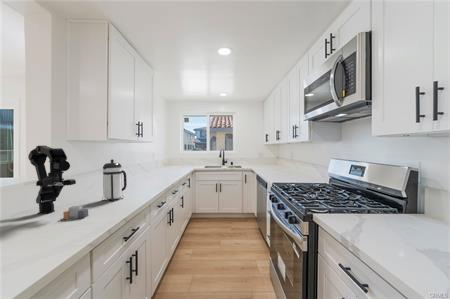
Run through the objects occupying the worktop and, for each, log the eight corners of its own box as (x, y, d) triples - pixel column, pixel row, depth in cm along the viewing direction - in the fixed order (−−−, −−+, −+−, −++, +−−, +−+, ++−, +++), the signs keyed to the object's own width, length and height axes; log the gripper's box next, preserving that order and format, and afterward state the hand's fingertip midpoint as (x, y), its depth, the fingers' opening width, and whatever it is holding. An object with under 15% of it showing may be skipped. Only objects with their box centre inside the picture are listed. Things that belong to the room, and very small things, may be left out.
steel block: (69, 218, 130) (68, 207, 129) (73, 216, 134) (72, 206, 133) (78, 218, 130) (78, 207, 130) (82, 216, 134) (82, 205, 134)
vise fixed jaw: (78, 218, 129) (77, 211, 129) (82, 215, 134) (82, 208, 134) (83, 218, 130) (83, 211, 130) (88, 215, 135) (88, 208, 135)
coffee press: (124, 200, 172) (123, 159, 171) (99, 202, 167) (98, 160, 167) (126, 196, 188) (126, 158, 188) (104, 197, 184) (103, 159, 184)
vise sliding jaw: (63, 219, 129) (63, 211, 129) (68, 216, 134) (68, 209, 134) (68, 218, 129) (68, 211, 129) (73, 216, 134) (73, 209, 134)
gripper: (28, 172, 127) (28, 201, 127) (64, 171, 128) (64, 200, 128) (43, 170, 138) (43, 196, 138) (76, 169, 139) (76, 196, 139)
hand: (56, 197), depth 136 cm, fingers closed
